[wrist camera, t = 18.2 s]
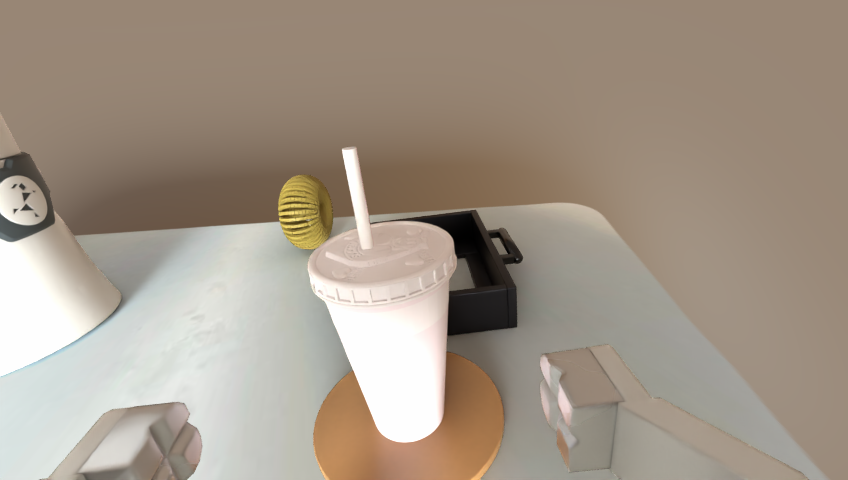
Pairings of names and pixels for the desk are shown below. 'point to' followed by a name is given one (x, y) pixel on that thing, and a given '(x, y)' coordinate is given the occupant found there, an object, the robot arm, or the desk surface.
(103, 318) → the robot arm
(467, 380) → the cork pad
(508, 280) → the pan
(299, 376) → the desk surface
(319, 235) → the sculpture
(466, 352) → the desk surface
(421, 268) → the smoothie
